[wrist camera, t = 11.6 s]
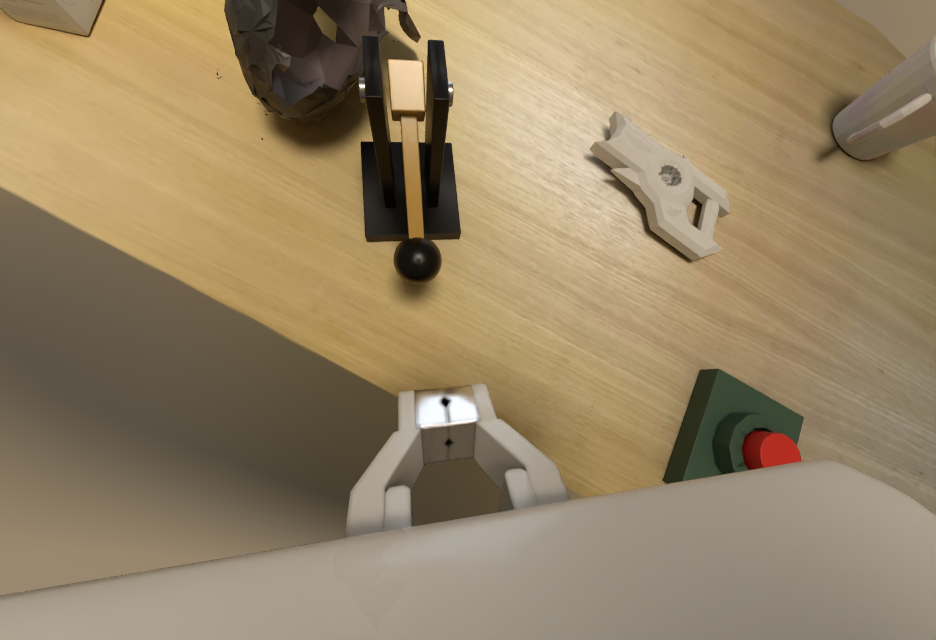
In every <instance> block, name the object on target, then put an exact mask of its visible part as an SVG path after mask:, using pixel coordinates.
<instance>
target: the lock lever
mask: <svg viewBox="0 0 936 640" xmlns="http://www.w3.org/2000/svg"><path fill="white" fill-rule="evenodd" d="M387 65H388V78H389V91H390V103H391V113H392V120H393V121H401V135H402V149H403V163H404V177H405V191H406V205H407V218H408V232H409V238H406V239H405V240H403V241H402V242H401V243H400V244H399V245H398V246H397V248H396V250H395V253H394V266H395V269H396V271H397V273H398V274H399V275H400V276H401V277H402V278H403V279H404V280H406V281H407V282H410V283H413V284H423V283H427V282H429V281H431V280H432V279H434V278H435V277H436V275H437V274H438V272H439V270H440V268H441V263H442V259H441V253H440V251H439V249H438V247H437V246H436V244H435V243H434V242H432V241H431V240H430V239H428V238H426V237H424V227H423V210H422V193H421V176H420V159H419V142H418V125H417V121H424V117H425V112H426V105H425V86H424V66H423V61H417V60H399V59H388V60H387Z"/></svg>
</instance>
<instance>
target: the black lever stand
mask: <svg viewBox="0 0 936 640" xmlns="http://www.w3.org/2000/svg"><path fill="white" fill-rule="evenodd" d="M362 46H363V65H364V78H363V77H359V78H358V87H359V95H360V100H361V103H362V104H367V109H368V115H369V120H370V125H371V131H372V136H373V142H361V159H362V179H363V199H364V219H365V237H366V239H367V242H372V241H402V240H405V239H406V238H409V232H408V218H407V205H406V191H405V177H404V163H403V149H402V142H391V141H390V132H389V123H388V114H387V105H386V97H385V88H384V79H383V70H382V61H381V52H380V43H379V37H378V36H368V35H362ZM452 104H453V83H452V82H451V81H448V78H447V68H446V59H445V49H444V42H443V41H442V40H428V56H427V91H426V125H425V143H420V142H419V159H420V176H421V193H422V210H423V227H424V237H426V238H428V239H430V240H433V239H459V238H460V234H461V230H460V221H459V211H458V202H457V192H456V182H455V173H454V163H453V154H452V144H451V143H445V139H446V130H447V121H448V112H449V107H451V106H452Z"/></svg>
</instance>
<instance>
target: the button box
mask: <svg viewBox="0 0 936 640" xmlns="http://www.w3.org/2000/svg"><path fill="white" fill-rule="evenodd" d="M803 419H804V417H802V416H801V415H799V414H797V413H795V412H794V411H792V410H790V409H788V408H787V407H785V406H783V405H781V404H780V403H778V402H776V401H774V400H773V399H771V398H769V397H767V396H766V395H764V394H762V393H760V392H759V391H757V390H755V389H753V388H752V387H750V386H748V385H746V384H745V383H743V382H741V381H739V380H738V379H736V378H734V377H732V376H731V375H729V374H727V373H725V372H724V371H722V370H720V369H707V370H701V371H700V374H699V376H698V379H697V382H696V385H695V388H694V391H693V394H692V397H691V400H690V403H689V406H688V409H687V412H686V415H685V418H684V421H683V424H682V427H681V430H680V433H679V436H678V439H677V442H676V445H675V448H674V451H673V454H672V456H671V459H670V462H669V465H668V468H667V471H666V474H665V477H664V482H666V483H668V484H670V483H676V482H682V481H688V480H693V479H699V478H705V477H711V476H717V475H723V474H729V473H735V472H741V471H747V470H749V469H748V468H747V467H746V465H745V463H744V460H743V454H742V445H743V442H744V439H745V437H746V436H747V435H748V434H749V433H751V432H753V431H766V432H774V433H781V434H784V435H786V436H787V437H789V438H790V439H791V440H792V441H793V442H794V443H795V444H796V446H797V443H798V439H799V435H800V431H801V427H802V423H803Z"/></svg>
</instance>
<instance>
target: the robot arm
mask: <svg viewBox="0 0 936 640" xmlns="http://www.w3.org/2000/svg"><path fill="white" fill-rule="evenodd" d="M414 397H415V398H414ZM467 458H474V460H475V461H476V462H477V463H478V465H479V466H480V467H481V468H482V469H483V470H484V472H485V473H486V474H487V475H488V476H489V477H490V479H491V480H492V481H493V482H494V483H495V484H496V486H497V487H498V488H499V489H500V490H501V491H502V494H501V500H500V506H499V512H496V513H490V514H485V515H479V516H473V517H467V518H461V519H455V520H449V521H443V522H437V523H431V524H426V525H419V526H414V522H413V512H412V504H411V495H410V493H411V491H412V489H413V486H414V485H415V482H416V481H417V479H418V476H419V475H420V472H421V471H422V469H423V467H424V465H425V464H431V463H436V462H443V461H449V460H458V459H467ZM0 640H936V515H934V514H933V513H931V512H930V511H929V510H927V509H926V508H925V507H923V506H922V505H921V504H919V503H918V502H917V501H915V500H914V499H912V498H911V497H909V496H908V495H906V494H905V493H903V492H901V491H899V490H897V489H895V488H893V487H891V486H889V485H887V484H885V483H883V482H881V481H879V480H877V479H875V478H872V477H870V476H868V475H866V474H864V473H862V472H860V471H858V470H855V469H853V468H851V467H849V466H846V465H844V464H841V463H839V462H836V461H834V460H830V459H813V460H807V461H801V462H795V463H789V464H783V465H777V466H771V467H765V468H759V469H753V470H747V471H741V472H735V473H729V474H723V475H717V476H711V477H705V478H699V479H693V480H688V481H682V482H676V483H670V484H664V485H658V486H652V487H646V488H640V489H634V490H628V491H622V492H616V493H610V494H604V495H598V496H592V497H586V498H580V499H574V500H570V497H569V495H568V492H567V490H566V488H565V485H564V483H563V481H562V478H561V476H560V474H559V471H558V469H557V467H556V464H555V462H554V461H552V460H551V459H550V458H549V457H547V456H546V455H545V454H544V453H543V452H541V451H540V450H539V449H538V448H536V447H535V446H534V445H533V444H531V443H530V442H529V441H528V440H527V439H525V438H524V437H523V436H522V435H520V434H519V433H518V432H517V431H516V430H514V429H513V428H512V427H511V426H509V425H508V424H507V423H506V422H504V421H503V420H502V419H497V417H496V414H495V411H494V408H493V405H492V402H491V398H490V395H489V392H488V389H487V386H486V384H485V383H482V384H473V385H464V386H455V387H446V388H438V389H425V390H414V391H403V392H399V394H398V431H396V432H393V434H392V435H391V436H390V438H389V439H388V440H387V442H386V443H385V445H384V446H383V447H382V449H381V450H380V452H379V453H378V454H377V456H376V457H375V458H374V460H373V461H372V462H371V464H370V465H369V467H368V468H367V470H366V471H365V472H364V474H363V475H362V476H361V478H360V479H359V481H358V482H357V483H356V485H355V486H354V487H353V489H352V490H351V491H350V500H349V507H348V515H347V522H346V530H345V538H342V539H335V540H329V541H324V542H317V543H312V544H305V545H300V546H294V547H288V548H282V549H276V550H270V551H264V552H258V553H252V554H246V555H240V556H234V557H228V558H222V559H216V560H210V561H204V562H198V563H192V564H186V565H180V566H174V567H168V568H162V569H156V570H150V571H144V572H138V573H132V574H126V575H120V576H114V577H108V578H102V579H96V580H90V581H84V582H78V583H72V584H66V585H60V586H54V587H48V588H42V589H36V590H30V591H24V592H18V593H12V594H6V595H0Z"/></svg>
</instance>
